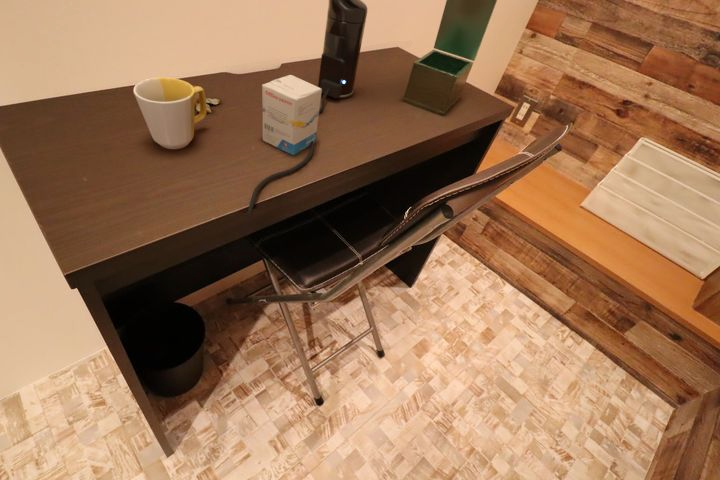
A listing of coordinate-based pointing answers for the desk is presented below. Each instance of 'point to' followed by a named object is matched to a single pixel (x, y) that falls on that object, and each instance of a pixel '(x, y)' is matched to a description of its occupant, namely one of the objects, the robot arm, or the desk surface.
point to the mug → (170, 109)
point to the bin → (437, 81)
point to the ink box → (290, 113)
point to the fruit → (208, 100)
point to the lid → (464, 26)
